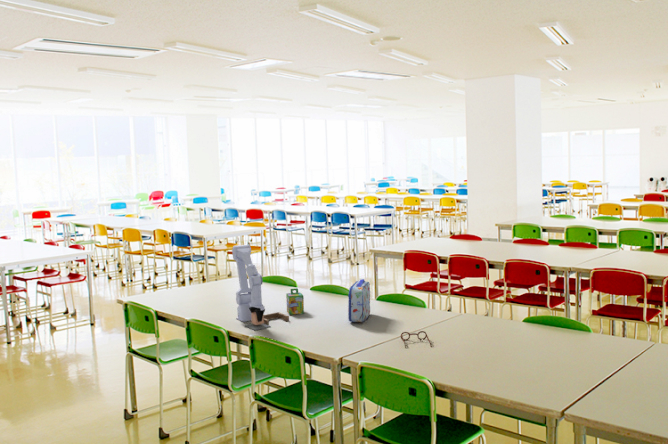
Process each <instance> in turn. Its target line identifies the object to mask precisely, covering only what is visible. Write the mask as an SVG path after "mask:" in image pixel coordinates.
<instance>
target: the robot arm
mask: <svg viewBox="0 0 668 444" xmlns="http://www.w3.org/2000/svg"><path fill="white" fill-rule="evenodd" d="M231 251H232V259H233V261H235V262H236V266H237V275H238V282H239V289H238V290H237V291H236V293H235V296H236V297H235V301H236V304H237V305H238V306H237V307H236V308H237V317H236V320H238V321H240V322H249V321H252V316H251V313H253V312H256V315H257V320H258V322H261V321H262V317H263V314H264V315H265V311H266V309H265V305H264V304H263V299H262V298H263V297H262V285H263V277H262V274H261V273H259V272H258V270H257V267H256V265H255V264H253V261H252V257H251V254H252V248H251V245H250V244H242V245H241V244H240V245H233V246H232V250H231Z"/></svg>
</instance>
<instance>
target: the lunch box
mask: <svg viewBox="0 0 668 444" xmlns="http://www.w3.org/2000/svg"><path fill="white" fill-rule="evenodd" d="M370 287H371V286H370V282H369V281H365V279H359V280H356V281H355V282H354V283H353V284H351V286H350V287H349V290H348V294H347V295H348V296H347V297H348V305H347V307H348V308H347V309H348V310H347V313H348V315H347V319H348V322H352V323H364V321H366V320H367V319H368V318H369V316H370V314H371V288H370Z"/></svg>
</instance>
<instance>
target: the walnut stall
mask: <svg viewBox="0 0 668 444" xmlns="http://www.w3.org/2000/svg"><path fill="white" fill-rule="evenodd" d="M275 319H280V320H283V321H285V322H289V321H290V315H287V314H285V313H283V312H280V311H279V312H277V311H276V312H272V313H267V314H264V324H266V325H269V326H270V321H269V320H275Z"/></svg>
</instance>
